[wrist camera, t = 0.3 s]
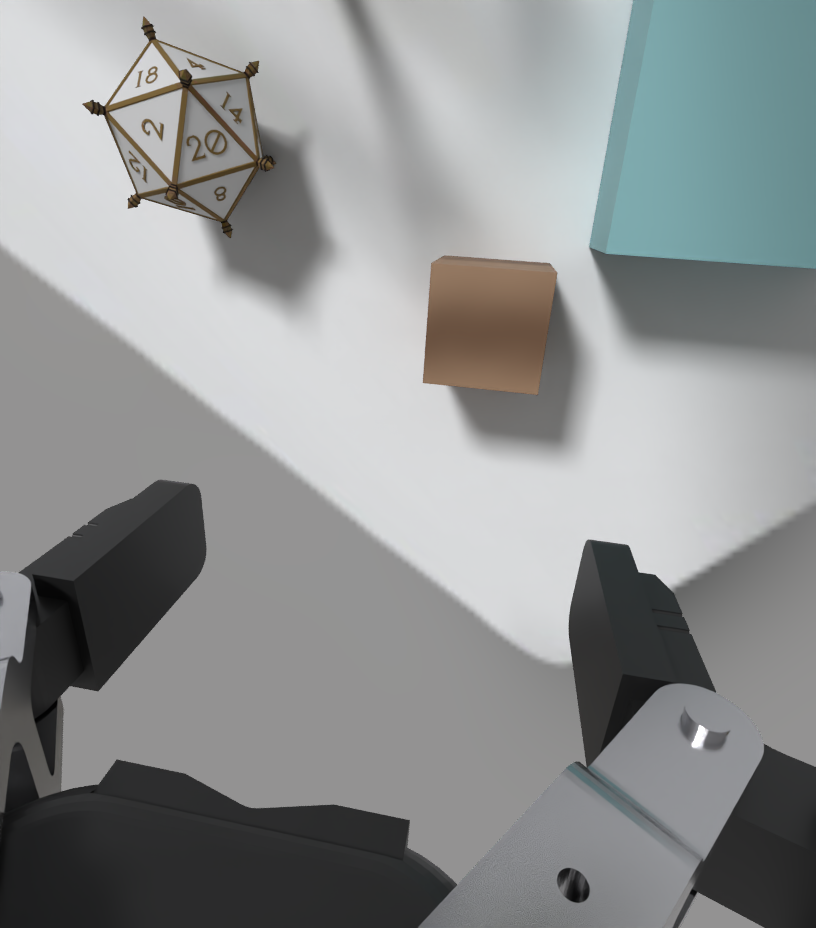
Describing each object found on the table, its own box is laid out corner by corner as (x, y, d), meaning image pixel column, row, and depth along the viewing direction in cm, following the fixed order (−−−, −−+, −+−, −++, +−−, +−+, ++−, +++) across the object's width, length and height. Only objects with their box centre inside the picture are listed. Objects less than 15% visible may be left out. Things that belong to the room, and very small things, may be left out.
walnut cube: (444, 255, 33) (431, 262, 27) (549, 263, 32) (557, 272, 27) (436, 357, 35) (422, 382, 30) (533, 366, 34) (537, 394, 29)
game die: (262, 118, 35) (277, -18, 25) (282, 256, 35) (303, 172, 25) (101, 109, 32) (49, -48, 22) (123, 259, 32) (80, 166, 23)
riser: (638, -28, 26) (671, -91, 21) (921, -26, 25) (1036, -93, 19) (589, 247, 31) (605, 253, 26) (822, 263, 30) (892, 274, 24)
